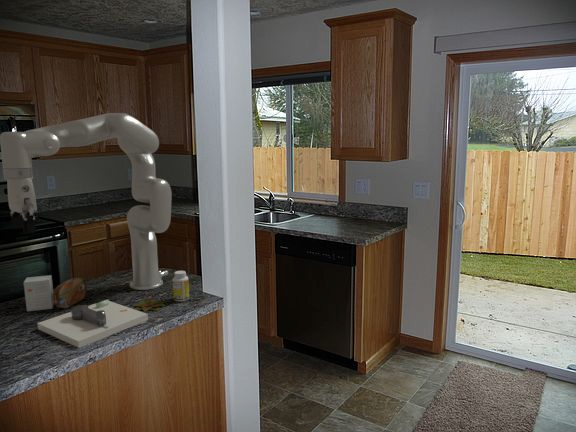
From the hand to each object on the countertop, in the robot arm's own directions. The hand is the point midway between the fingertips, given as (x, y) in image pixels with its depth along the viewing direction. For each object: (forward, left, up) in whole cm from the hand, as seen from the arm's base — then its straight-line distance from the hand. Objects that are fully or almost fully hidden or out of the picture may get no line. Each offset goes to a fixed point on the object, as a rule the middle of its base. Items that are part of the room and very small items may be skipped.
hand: (23, 230), depth 142 cm
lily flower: (-31, +17, -31) cm, 47 cm away
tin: (-17, -8, -31) cm, 36 cm away
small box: (-9, -13, -31) cm, 34 cm away
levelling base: (-11, +15, -30) cm, 36 cm away
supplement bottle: (-42, +21, -31) cm, 56 cm away
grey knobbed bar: (-9, +16, -28) cm, 34 cm away
